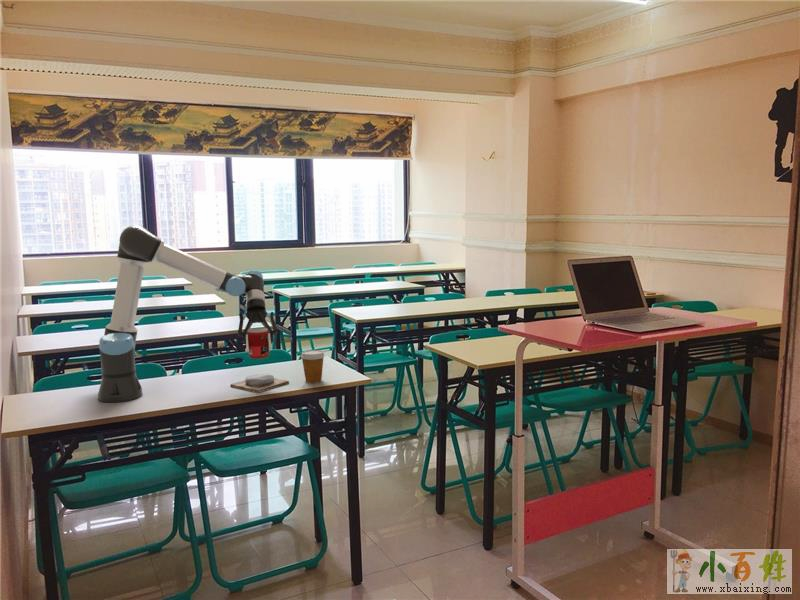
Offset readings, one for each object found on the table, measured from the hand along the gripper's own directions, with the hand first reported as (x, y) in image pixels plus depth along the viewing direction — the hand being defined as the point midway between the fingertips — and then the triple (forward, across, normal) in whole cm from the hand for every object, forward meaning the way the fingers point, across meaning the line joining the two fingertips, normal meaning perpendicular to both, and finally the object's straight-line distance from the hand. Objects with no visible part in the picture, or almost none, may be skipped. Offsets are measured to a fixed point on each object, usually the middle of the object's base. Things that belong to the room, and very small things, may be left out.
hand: (258, 349), depth 244 cm
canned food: (0, 0, -5) cm, 5 cm away
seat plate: (+8, 0, -13) cm, 15 cm away
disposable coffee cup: (+9, -21, -13) cm, 26 cm away
